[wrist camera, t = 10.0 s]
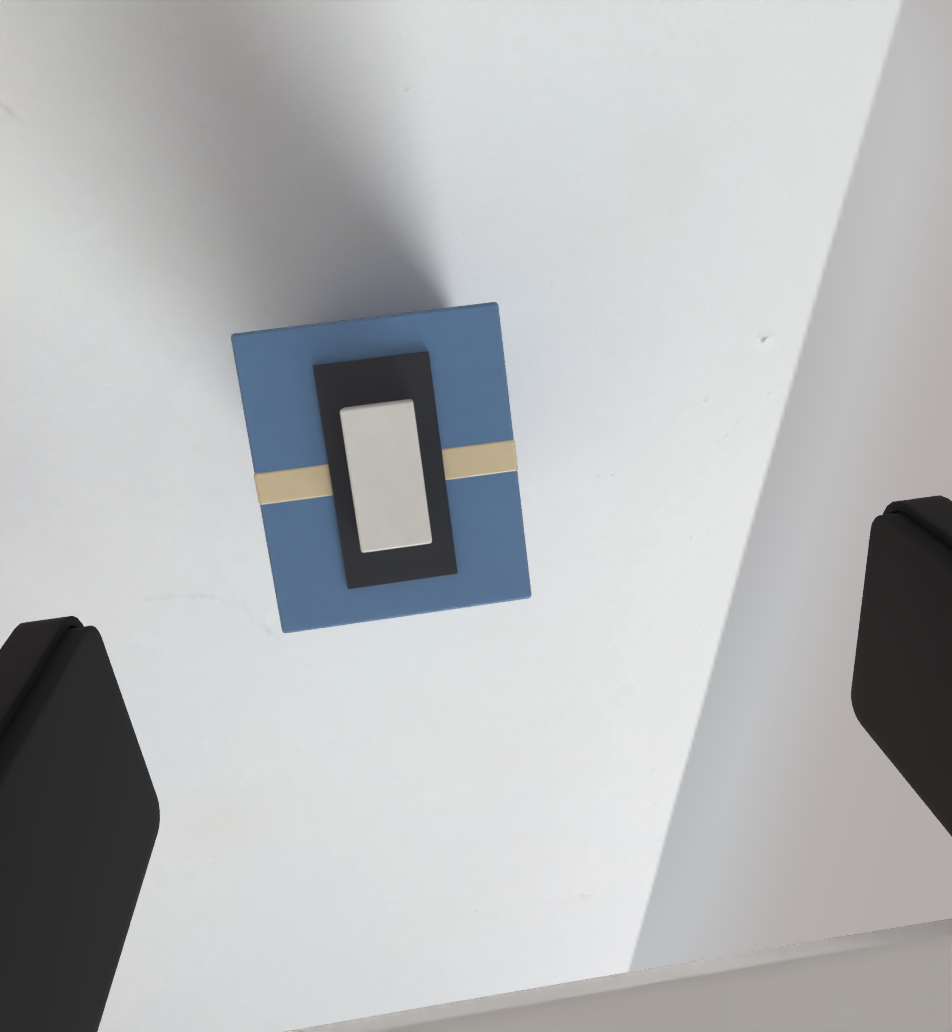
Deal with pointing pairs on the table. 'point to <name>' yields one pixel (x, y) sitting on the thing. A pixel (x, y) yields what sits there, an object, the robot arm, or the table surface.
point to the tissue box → (384, 465)
